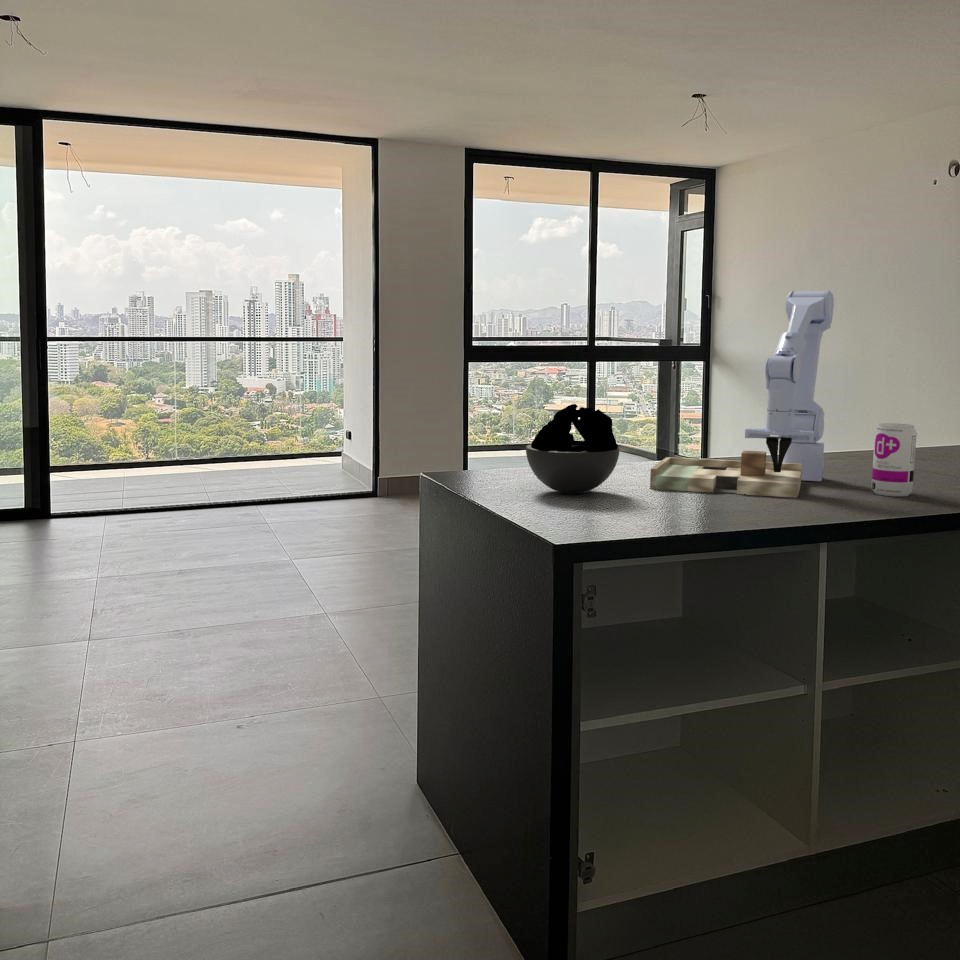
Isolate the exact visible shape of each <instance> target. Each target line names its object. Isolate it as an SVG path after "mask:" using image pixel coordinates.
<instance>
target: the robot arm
mask: <svg viewBox="0 0 960 960" xmlns="http://www.w3.org/2000/svg"><path fill="white" fill-rule="evenodd" d="M834 299H835V298H834V294H833V292H832V291H831V290H828V289H827V290H820V291H819V290H818V291H814V290H812V291H811V290H810V291H809V290H807V291H802V290H801V291H795V290H790V291H789V293H788V294H787V296H786V299H785V313H786V315H787V318H788V322H789V323H788V326H787V331H785V332H784V333H781V335H780V337H779V340H778V342H777V345H776V347H775V350H774V353H773V355H771V357H768V358H767V360H766V361H765V362H766V363H765V369H764V371H765V373H764V374H765V379H766V380H765V381H766V383H765V387H766V390H767V402H766V403H767V408H766V421H765V422H766V423H765V428H745V430H744V439H765V443H766V446H767V448H768V451H769V454H770V456H771V462H773V467H774V472H781V467H782V463H796V464H802V472H801V481H803V482H804V481H806V482H823V481H822V480H823V475H824V474H825V466H824V455H825V454H824V453H825V452H824V450H825V449H824V448H825V443H824V442H818V441H820V440H821V439H822V438H823V435H824V430H825V412H824V409H823V407H821V405H820V404H818V402H816V401H815V400H814V396H815V388H816V382H817V381H816V380H817V373H818V365H819V358H820V357H819V356H820V350H821V349H820V348H821V342H822V338H823V333H824V332H825V331H827V330H830V329H831V326H832V325H831V324H832V323H833V322H832V321H833V316H834V315H833V314H834V307H835V303H834V302H835V300H834Z"/></svg>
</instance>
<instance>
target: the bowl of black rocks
mask: <svg viewBox="0 0 960 960" xmlns="http://www.w3.org/2000/svg"><path fill="white" fill-rule="evenodd" d="M578 407H579V409H578ZM552 418H553V419H552V420H549V421H548V423H547V424H545V425H543V426H542V427H541V429H539V431H538V432H537V434H536V435H535V437H534V439H533V440H532V441H531V443H530V444H528V445H526V446H525V454H526V455H525V456H526V458H527V463H528V465H529V468H530V470H531V471H532V472H533V474H534V476H536V478H537V479H538V480H539V481H540V482H541V483H542V484H544V485H545V486H546V487H547V488H550V489H551V490H553V491H556V492H558V493H563V494H568V495H569V494H571V495H573V494H574V495H576V494H583V493H587V492H589V491H591V490H594V489H596V488H597V487H599V486H600V485H602V484H603V483H604V482H605V481H607V479H609V477H610V475H612V472H613V471H614V470H615V468H616V465H617V463H618V461H619V456H620V452H621V451H620V449H621V448H620V447H619V445H618V444H617V443H618V442H617V439H616V438H615V435H614V432H613V431H614V430H613V419H612V418H611V417H610V416H609V415H608V414H606V413H605V412H603V411H602V410H600V409H596V410H595V408H594V407H584V406H578V404H576V403H572V404H570V405H568V406H566V407H564V408H562V409H559V410H557V411H556V412H555V414H554V415H553V417H552ZM572 425H573V426H574V428H575V429H576V431H577V432H578V433H579V434H580V436H581V437H582V439H583V440H575V437H574V434H573V433H570V432H571V430H572Z"/></svg>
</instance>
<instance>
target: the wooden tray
mask: <svg viewBox="0 0 960 960" xmlns="http://www.w3.org/2000/svg"><path fill="white" fill-rule="evenodd" d="M801 472H802V464H796V463H782V467H781V472H774V467H773V461H766V471H765V475H764V477H760V476H742V475H741V460H734V459H730V460H729V459H711V458H690V457H673V456H672V457H671V456H670V457H669V456H665V457H664V458H662V460H660V461H659V462H658V463H656V464H655V465H654V466H652V467H651V468H650V477H649V478H650V481H649V483H650V484H649V489H650V490H664V491H678V492H679V491H682V492H695V493H696V492H697V493H711V492H712V493H714V494H715V493H716V494H728V493H729V494H730V495H744V494H746V495H747V496H764V497H765V496H766V497H781V498H794V499H795V498H798V496H799V493H800V488H801V484H802V480H801ZM729 494H728V495H729ZM746 495H745V496H746Z"/></svg>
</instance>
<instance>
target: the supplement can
mask: <svg viewBox="0 0 960 960" xmlns="http://www.w3.org/2000/svg"><path fill="white" fill-rule="evenodd" d="M917 437H918V432H917V430H916V429H915V425H914V424H909V423H908V424H907V423H895V422H894V423H891V422H890V423H887V422H886V423H879V424H878V426H877V428H876V429H875V431H874V442H873V444H874V445H873V457H872V460H873V461H872V472H871V473H872V474H871V485H870V487H871V491H873V493H874V494H876V495H879V496H886V497H909V496H910V494H912V493H913V487H914V476H915V474H914V473H915V462H916V461H915V460H916V448H917V446H916V445H917Z"/></svg>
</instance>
